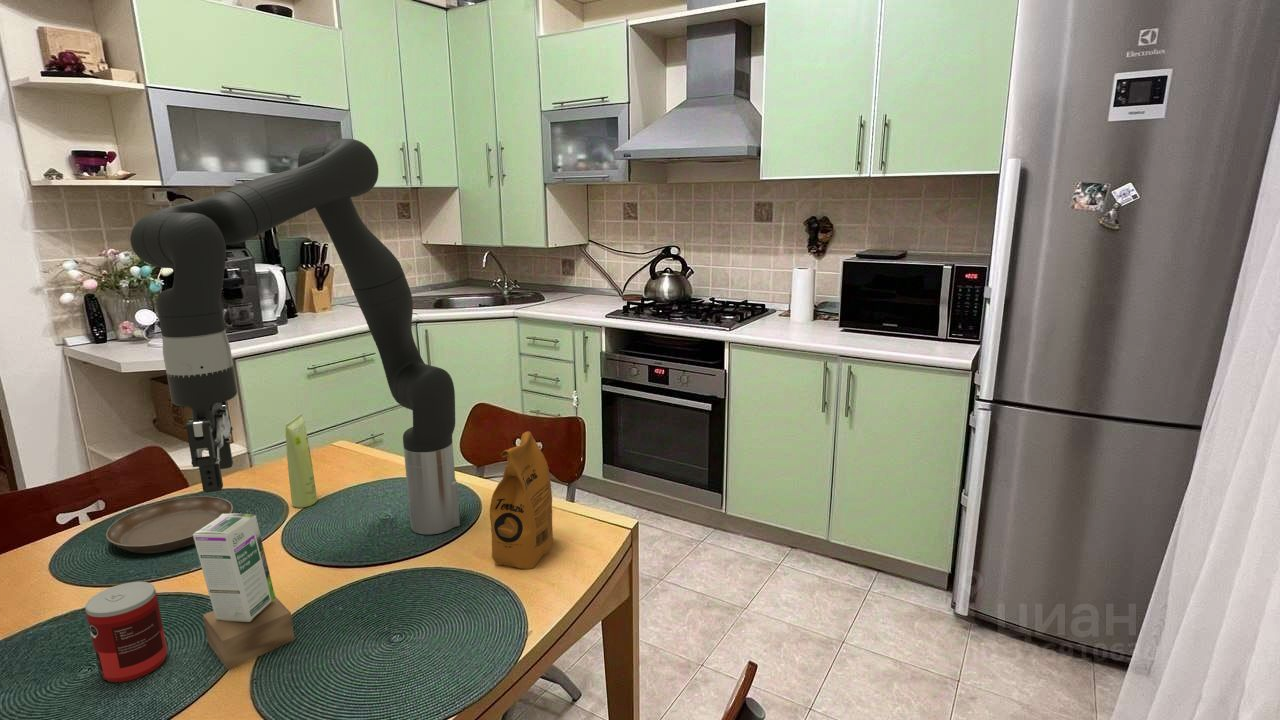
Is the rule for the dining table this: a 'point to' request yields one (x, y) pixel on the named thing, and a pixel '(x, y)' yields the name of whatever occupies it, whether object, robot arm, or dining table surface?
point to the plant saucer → (166, 524)
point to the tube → (300, 464)
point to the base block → (249, 634)
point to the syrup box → (234, 567)
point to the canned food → (126, 631)
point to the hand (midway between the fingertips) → (219, 478)
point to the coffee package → (522, 507)
